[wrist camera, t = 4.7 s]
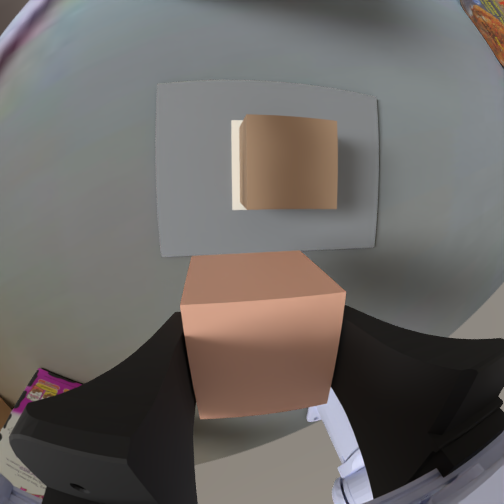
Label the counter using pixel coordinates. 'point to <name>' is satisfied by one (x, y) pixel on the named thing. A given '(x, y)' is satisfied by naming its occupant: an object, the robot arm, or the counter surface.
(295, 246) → the mat
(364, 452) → the robot arm
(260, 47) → the counter surface
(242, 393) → the terracotta block
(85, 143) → the counter surface
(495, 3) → the tin
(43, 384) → the candy bar box
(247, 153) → the walnut block
